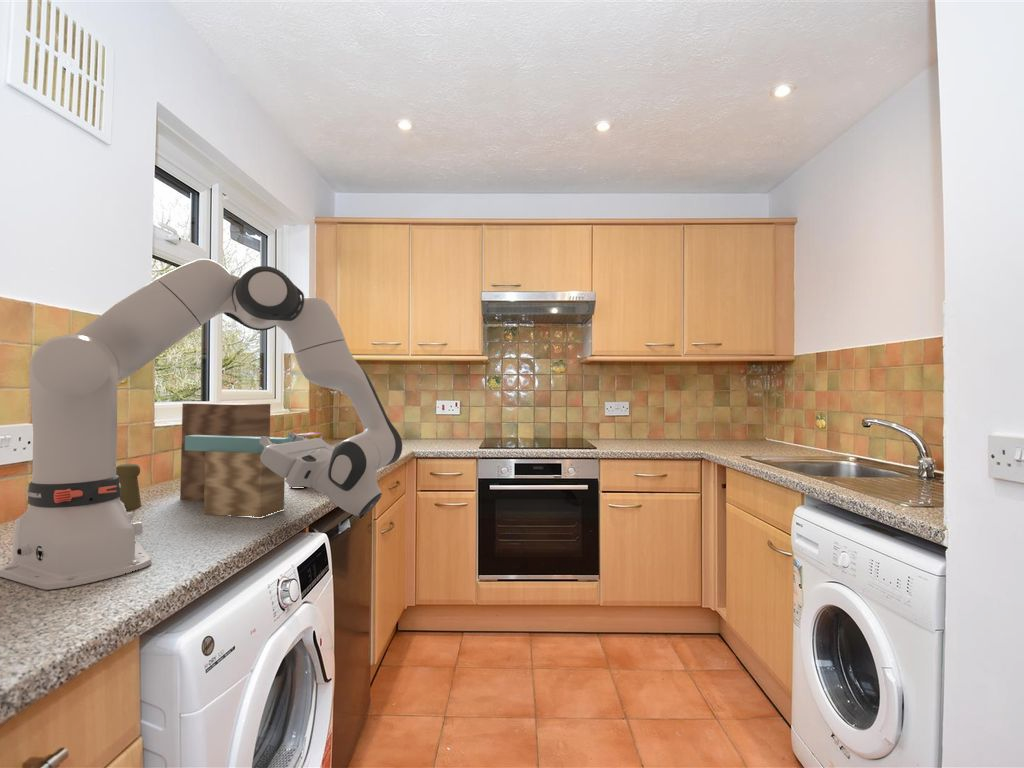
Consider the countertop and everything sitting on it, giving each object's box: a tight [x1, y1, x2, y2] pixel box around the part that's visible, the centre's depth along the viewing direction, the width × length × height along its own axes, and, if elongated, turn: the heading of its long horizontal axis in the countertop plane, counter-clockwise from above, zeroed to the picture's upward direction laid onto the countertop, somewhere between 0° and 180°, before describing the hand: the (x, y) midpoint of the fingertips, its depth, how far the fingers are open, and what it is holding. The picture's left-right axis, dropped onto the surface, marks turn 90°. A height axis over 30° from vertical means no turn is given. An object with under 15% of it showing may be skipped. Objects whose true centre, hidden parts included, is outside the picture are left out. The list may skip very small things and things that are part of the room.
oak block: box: [203, 451, 286, 517], centre depth 121 cm, size 16×8×15 cm, turn 77°
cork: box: [116, 463, 142, 511], centre depth 123 cm, size 6×6×11 cm
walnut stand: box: [179, 402, 271, 502], centre depth 138 cm, size 18×12×26 cm, turn 77°
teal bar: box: [185, 435, 291, 453], centre depth 121 cm, size 26×4×4 cm, turn 81°
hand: (276, 436), depth 119 cm, fingers open, 8 cm apart
